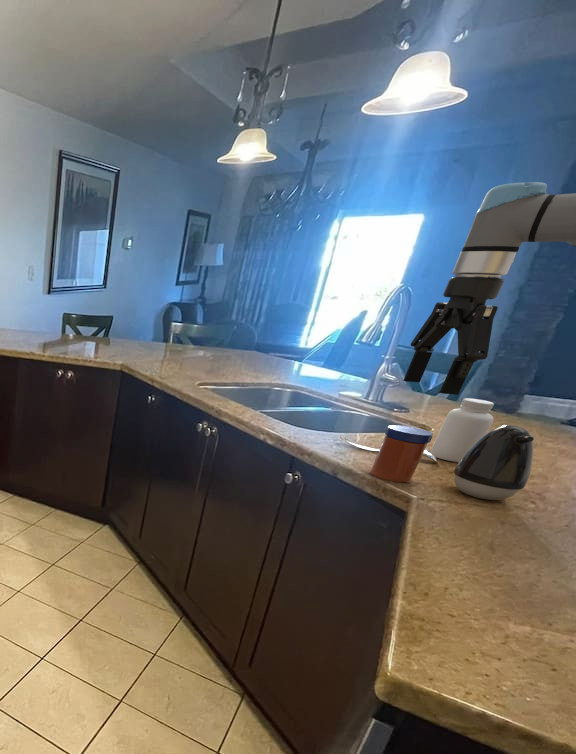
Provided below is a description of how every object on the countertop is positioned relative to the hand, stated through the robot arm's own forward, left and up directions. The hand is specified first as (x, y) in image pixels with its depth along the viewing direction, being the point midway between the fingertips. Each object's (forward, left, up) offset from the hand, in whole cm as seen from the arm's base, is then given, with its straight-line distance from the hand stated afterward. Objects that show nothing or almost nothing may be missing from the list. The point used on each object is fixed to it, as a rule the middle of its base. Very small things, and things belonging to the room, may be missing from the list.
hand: (428, 387), depth 103 cm
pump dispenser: (-14, -3, -20) cm, 25 cm away
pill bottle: (-6, -31, -20) cm, 38 cm away
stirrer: (+5, -21, -20) cm, 30 cm away
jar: (0, 0, -20) cm, 20 cm away
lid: (0, 0, -10) cm, 10 cm away
